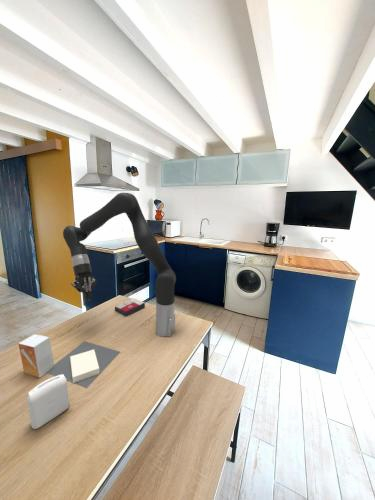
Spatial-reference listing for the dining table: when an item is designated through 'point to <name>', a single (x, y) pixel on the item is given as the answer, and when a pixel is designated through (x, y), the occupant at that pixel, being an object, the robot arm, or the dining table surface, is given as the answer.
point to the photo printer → (48, 400)
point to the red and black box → (129, 307)
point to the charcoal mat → (102, 353)
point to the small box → (36, 355)
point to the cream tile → (84, 365)
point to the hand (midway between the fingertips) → (88, 300)
